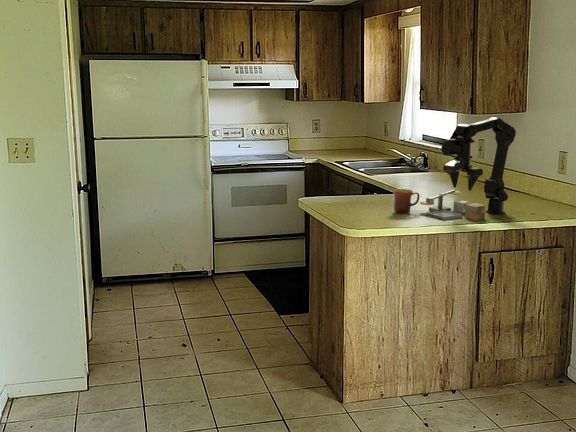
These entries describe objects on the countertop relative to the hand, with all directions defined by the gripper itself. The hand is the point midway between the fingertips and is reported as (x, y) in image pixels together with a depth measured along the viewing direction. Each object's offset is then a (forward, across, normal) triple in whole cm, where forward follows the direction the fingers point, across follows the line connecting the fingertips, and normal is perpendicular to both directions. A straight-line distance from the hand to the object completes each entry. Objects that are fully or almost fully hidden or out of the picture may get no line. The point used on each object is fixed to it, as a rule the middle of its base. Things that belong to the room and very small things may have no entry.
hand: (462, 189), depth 308 cm
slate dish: (+12, -4, -6) cm, 14 cm away
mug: (+12, -19, -16) cm, 28 cm away
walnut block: (+13, +4, +4) cm, 14 cm away
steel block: (+13, -8, +8) cm, 18 cm away
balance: (+13, -15, +1) cm, 20 cm away
